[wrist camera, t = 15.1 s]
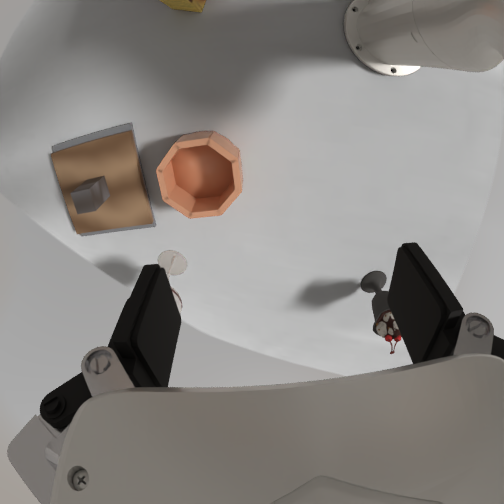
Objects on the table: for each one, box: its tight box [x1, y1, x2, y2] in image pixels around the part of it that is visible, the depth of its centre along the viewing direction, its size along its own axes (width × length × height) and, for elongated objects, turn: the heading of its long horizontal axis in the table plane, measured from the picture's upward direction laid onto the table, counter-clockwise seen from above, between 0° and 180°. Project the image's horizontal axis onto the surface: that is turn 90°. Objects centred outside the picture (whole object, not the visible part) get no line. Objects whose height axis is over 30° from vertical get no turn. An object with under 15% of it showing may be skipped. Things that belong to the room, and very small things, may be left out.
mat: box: [52, 123, 156, 236], centre depth 40 cm, size 16×14×1 cm
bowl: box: [156, 131, 243, 219], centre depth 37 cm, size 10×10×6 cm
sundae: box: [361, 271, 402, 354], centre depth 45 cm, size 7×7×15 cm
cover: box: [51, 130, 154, 234], centre depth 37 cm, size 14×14×6 cm
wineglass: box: [158, 250, 187, 314], centre depth 43 cm, size 7×7×12 cm
